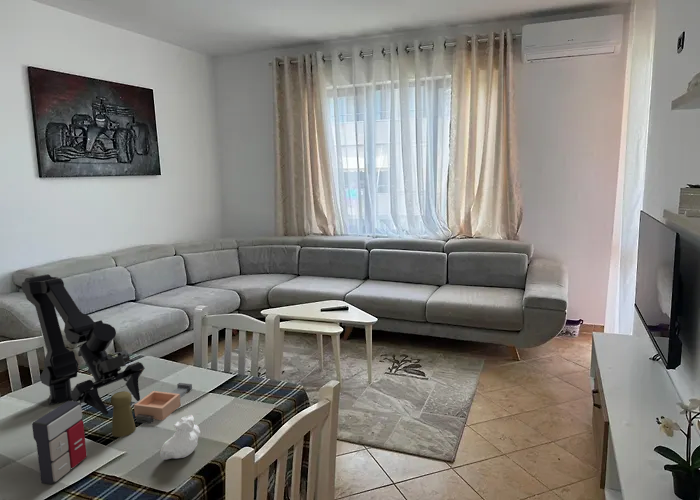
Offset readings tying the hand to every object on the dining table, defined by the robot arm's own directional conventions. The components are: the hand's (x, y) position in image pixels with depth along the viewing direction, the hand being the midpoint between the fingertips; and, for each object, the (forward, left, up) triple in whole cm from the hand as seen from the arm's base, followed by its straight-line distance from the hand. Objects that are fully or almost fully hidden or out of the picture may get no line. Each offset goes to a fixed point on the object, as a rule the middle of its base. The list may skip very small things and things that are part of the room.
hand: (123, 407), depth 132 cm
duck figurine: (+18, +12, -7) cm, 23 cm away
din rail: (-11, +12, -7) cm, 18 cm away
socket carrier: (-8, +10, -7) cm, 14 cm away
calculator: (+11, -14, -7) cm, 20 cm away
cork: (-1, 0, -7) cm, 8 cm away
